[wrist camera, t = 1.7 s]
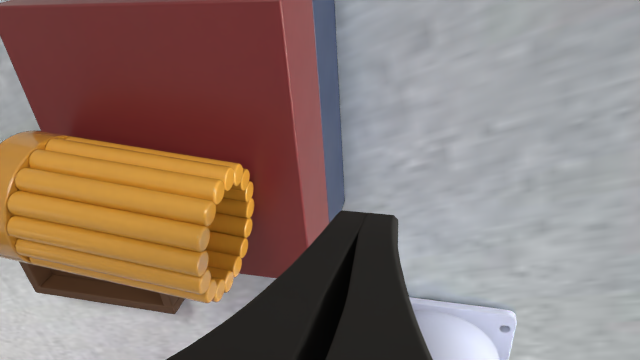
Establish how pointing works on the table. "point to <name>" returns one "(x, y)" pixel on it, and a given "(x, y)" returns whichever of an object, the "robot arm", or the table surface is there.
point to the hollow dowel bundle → (125, 213)
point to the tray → (98, 290)
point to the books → (199, 95)
